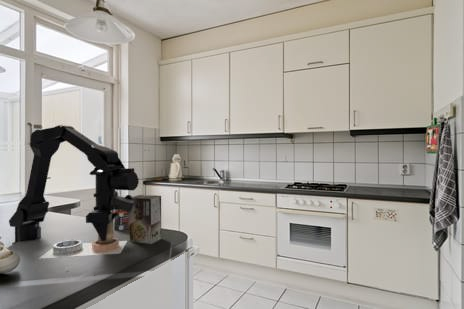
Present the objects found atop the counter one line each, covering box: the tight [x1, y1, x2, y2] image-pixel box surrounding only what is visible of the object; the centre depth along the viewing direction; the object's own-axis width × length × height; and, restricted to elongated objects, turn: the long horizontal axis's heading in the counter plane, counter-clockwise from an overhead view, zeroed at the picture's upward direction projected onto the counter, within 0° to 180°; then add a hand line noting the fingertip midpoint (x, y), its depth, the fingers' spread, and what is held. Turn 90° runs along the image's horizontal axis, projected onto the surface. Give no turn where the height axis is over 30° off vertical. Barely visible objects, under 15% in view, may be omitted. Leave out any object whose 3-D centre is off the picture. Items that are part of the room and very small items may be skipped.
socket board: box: [38, 240, 128, 260], centre depth 86 cm, size 22×12×1 cm, turn 101°
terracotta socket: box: [91, 237, 120, 252], centre depth 87 cm, size 8×8×2 cm
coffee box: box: [129, 194, 162, 245], centre depth 95 cm, size 9×6×16 cm
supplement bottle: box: [113, 209, 130, 232], centre depth 110 cm, size 6×6×11 cm
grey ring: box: [52, 239, 83, 255], centre depth 85 cm, size 8×8×2 cm
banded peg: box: [97, 220, 114, 245], centre depth 87 cm, size 5×5×7 cm
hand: (105, 238), depth 87 cm, fingers closed on banded peg, 4 cm apart
